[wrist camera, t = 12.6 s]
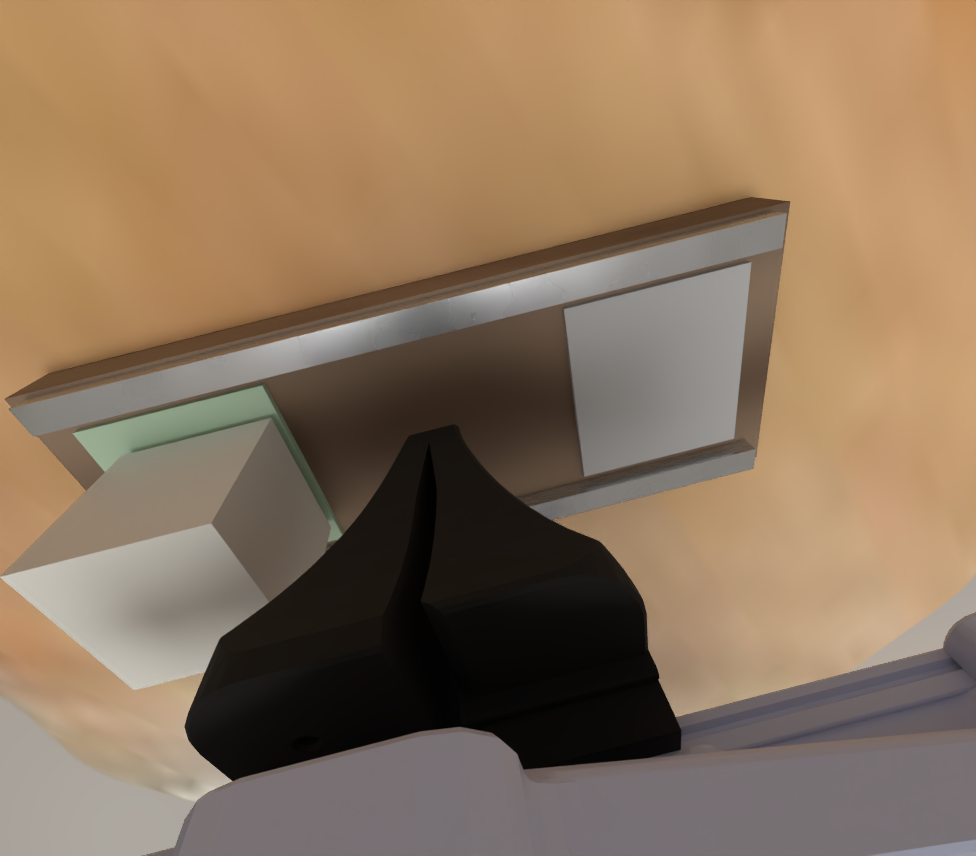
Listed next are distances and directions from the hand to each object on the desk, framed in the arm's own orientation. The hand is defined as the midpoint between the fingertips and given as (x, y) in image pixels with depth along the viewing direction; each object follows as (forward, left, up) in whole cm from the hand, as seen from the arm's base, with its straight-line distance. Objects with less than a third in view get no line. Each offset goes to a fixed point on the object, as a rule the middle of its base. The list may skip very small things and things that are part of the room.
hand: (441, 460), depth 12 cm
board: (0, 0, -3) cm, 3 cm away
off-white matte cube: (0, +6, -1) cm, 6 cm away
